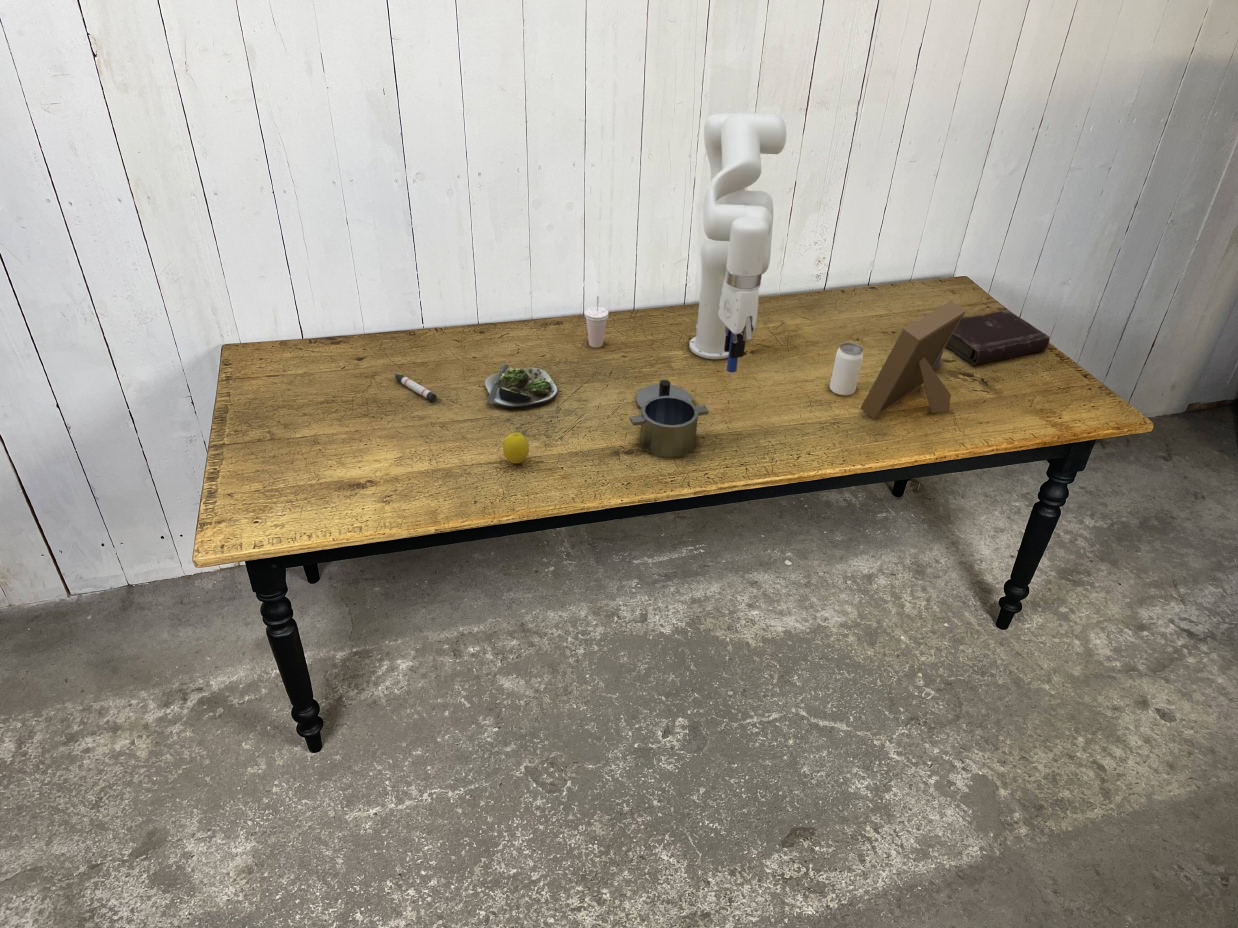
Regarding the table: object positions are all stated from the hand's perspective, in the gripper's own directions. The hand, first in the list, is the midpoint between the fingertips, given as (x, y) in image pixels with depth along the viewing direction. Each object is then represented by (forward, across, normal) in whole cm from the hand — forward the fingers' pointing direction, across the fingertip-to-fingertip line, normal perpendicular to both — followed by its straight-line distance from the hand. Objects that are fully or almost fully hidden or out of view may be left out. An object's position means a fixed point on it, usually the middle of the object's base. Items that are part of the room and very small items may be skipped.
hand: (733, 353), depth 193 cm
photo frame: (+19, +6, +47) cm, 51 cm away
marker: (+19, -35, -68) cm, 79 cm away
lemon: (+20, +1, -51) cm, 54 cm away
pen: (+4, 0, 0) cm, 4 cm away
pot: (+19, +3, -16) cm, 25 cm away
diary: (+19, -17, +88) cm, 91 cm away
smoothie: (+19, -45, -18) cm, 52 cm away
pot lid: (+19, -13, -11) cm, 25 cm away
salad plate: (+19, -26, -43) cm, 54 cm away
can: (+19, -6, +36) cm, 41 cm away
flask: (+19, -10, +64) cm, 67 cm away
